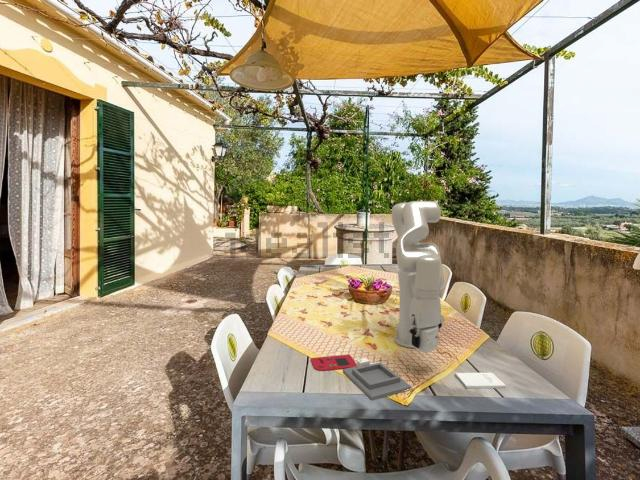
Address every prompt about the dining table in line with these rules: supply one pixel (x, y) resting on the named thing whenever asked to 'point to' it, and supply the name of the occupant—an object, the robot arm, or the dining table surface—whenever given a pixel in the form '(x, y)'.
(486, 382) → the external hard drive
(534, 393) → the dining table surface
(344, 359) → the handheld gaming console
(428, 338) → the skincare box
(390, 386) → the charging dock
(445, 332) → the dining table surface
